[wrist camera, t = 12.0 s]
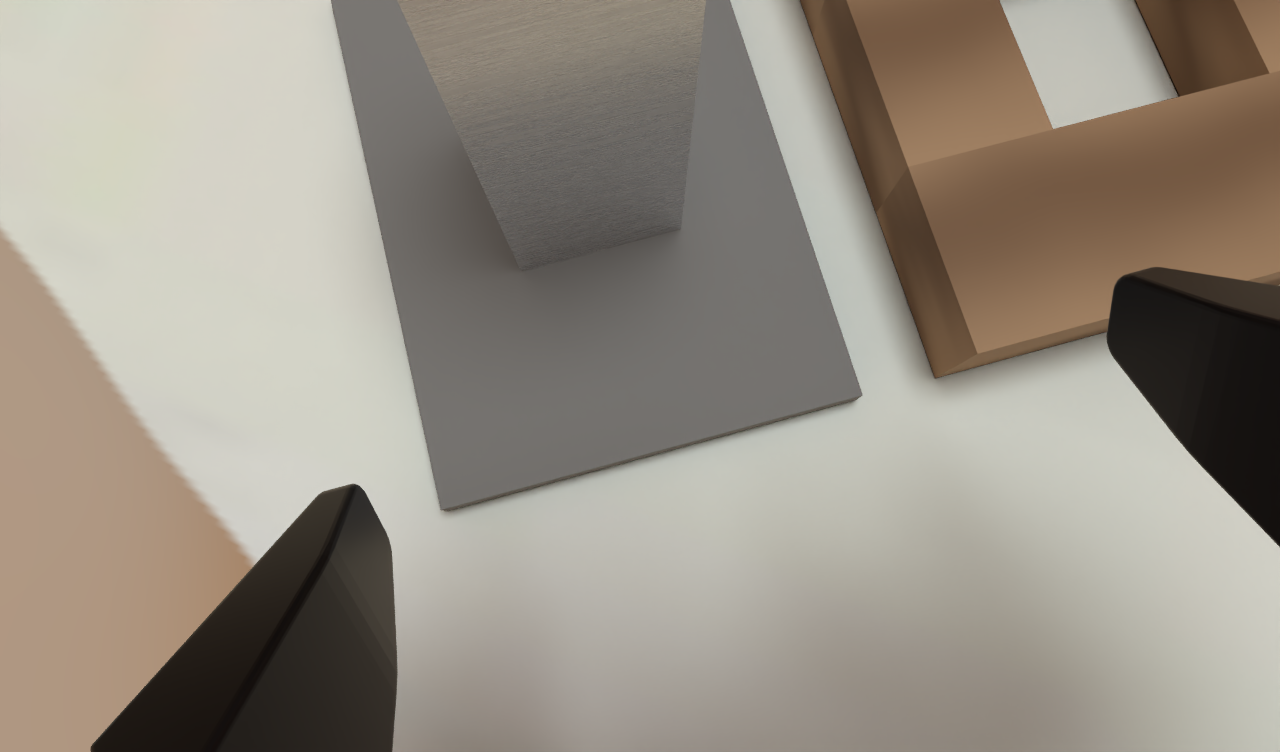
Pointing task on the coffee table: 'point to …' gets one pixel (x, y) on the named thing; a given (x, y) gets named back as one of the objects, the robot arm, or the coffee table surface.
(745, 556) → the coffee table surface
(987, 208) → the brown wooden frame
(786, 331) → the grey mat
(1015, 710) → the coffee table surface
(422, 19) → the steel key bar
